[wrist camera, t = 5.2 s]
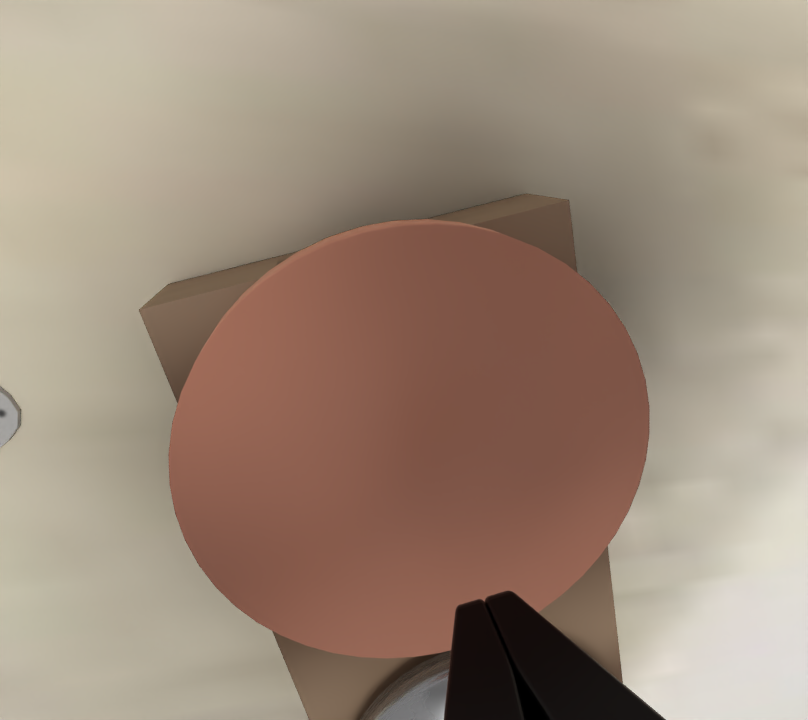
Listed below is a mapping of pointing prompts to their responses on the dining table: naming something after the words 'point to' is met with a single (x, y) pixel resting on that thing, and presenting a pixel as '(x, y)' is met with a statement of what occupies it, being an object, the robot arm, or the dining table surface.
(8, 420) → the emergency button
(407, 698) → the silver round dome
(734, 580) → the dining table surface
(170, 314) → the housing
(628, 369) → the rust plunger
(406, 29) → the dining table surface
